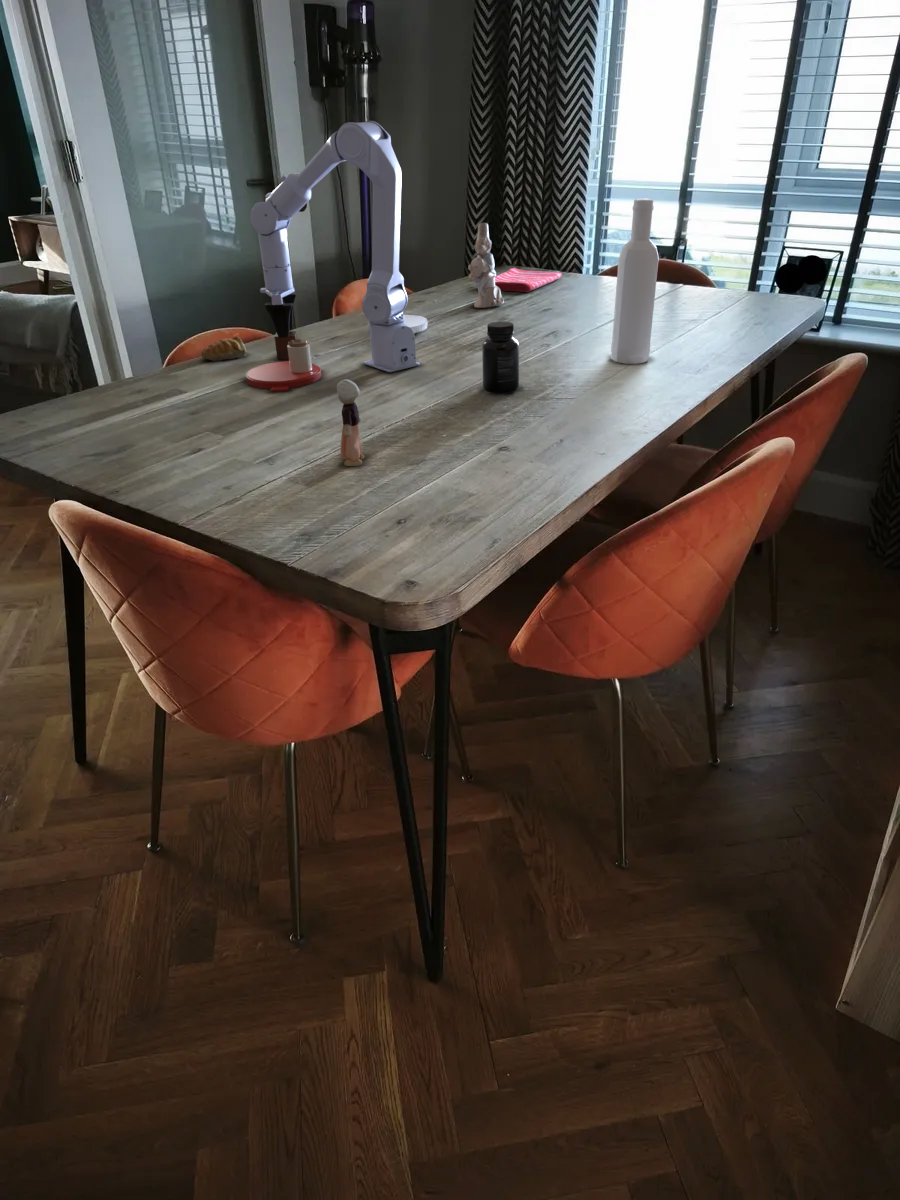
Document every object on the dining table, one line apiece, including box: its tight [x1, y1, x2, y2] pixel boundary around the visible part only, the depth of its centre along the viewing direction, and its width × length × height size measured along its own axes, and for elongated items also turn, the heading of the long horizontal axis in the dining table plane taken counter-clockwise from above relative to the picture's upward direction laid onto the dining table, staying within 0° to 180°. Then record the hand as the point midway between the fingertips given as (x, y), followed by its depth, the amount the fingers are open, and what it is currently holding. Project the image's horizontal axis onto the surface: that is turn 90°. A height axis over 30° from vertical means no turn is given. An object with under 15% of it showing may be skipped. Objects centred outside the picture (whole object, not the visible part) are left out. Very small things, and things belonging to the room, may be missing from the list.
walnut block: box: [274, 330, 299, 361], centre depth 175 cm, size 4×4×5 cm
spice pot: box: [287, 338, 313, 373], centre depth 160 cm, size 4×4×6 cm
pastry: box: [201, 336, 247, 362], centre depth 176 cm, size 9×7×4 cm
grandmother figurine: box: [336, 379, 365, 467], centre depth 120 cm, size 8×4×13 cm, turn 5°
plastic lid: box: [367, 314, 428, 334], centre depth 192 cm, size 14×14×2 cm
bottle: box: [610, 197, 660, 365], centre depth 159 cm, size 8×8×30 cm
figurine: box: [467, 222, 505, 309], centre depth 209 cm, size 9×8×20 cm
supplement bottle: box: [481, 321, 520, 395], centre depth 149 cm, size 7×7×12 cm
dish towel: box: [495, 267, 563, 293], centre depth 237 cm, size 17×24×3 cm
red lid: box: [245, 360, 322, 393], centre depth 161 cm, size 17×15×1 cm
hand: (285, 332), depth 173 cm, fingers open, 7 cm apart
